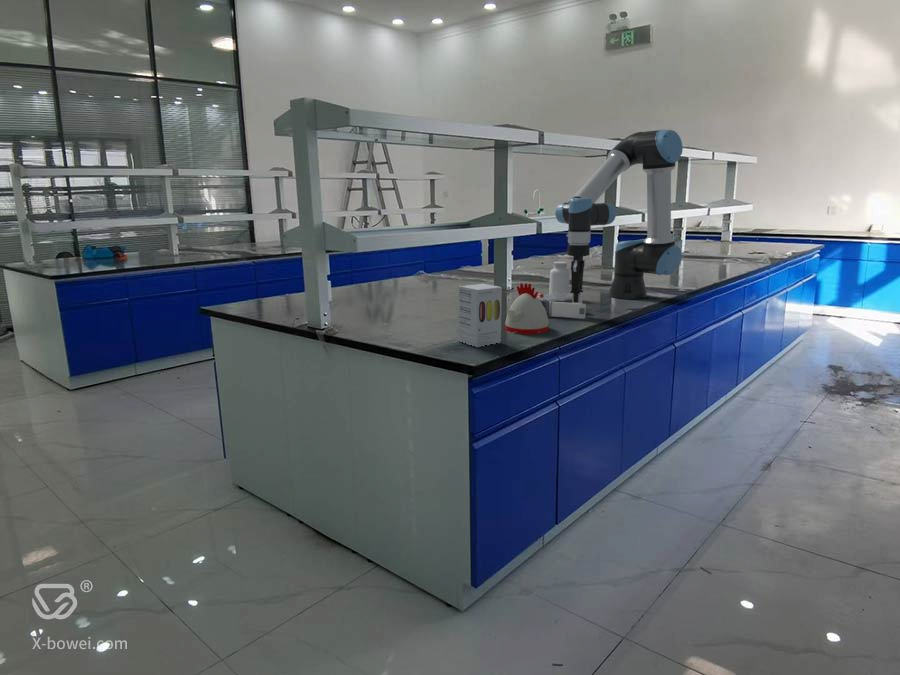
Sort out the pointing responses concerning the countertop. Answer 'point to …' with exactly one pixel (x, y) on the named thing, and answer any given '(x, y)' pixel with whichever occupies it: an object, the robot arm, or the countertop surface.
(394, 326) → the countertop surface
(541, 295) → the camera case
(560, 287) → the pill bottle
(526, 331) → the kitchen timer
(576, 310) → the thin white box
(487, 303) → the supplement box
